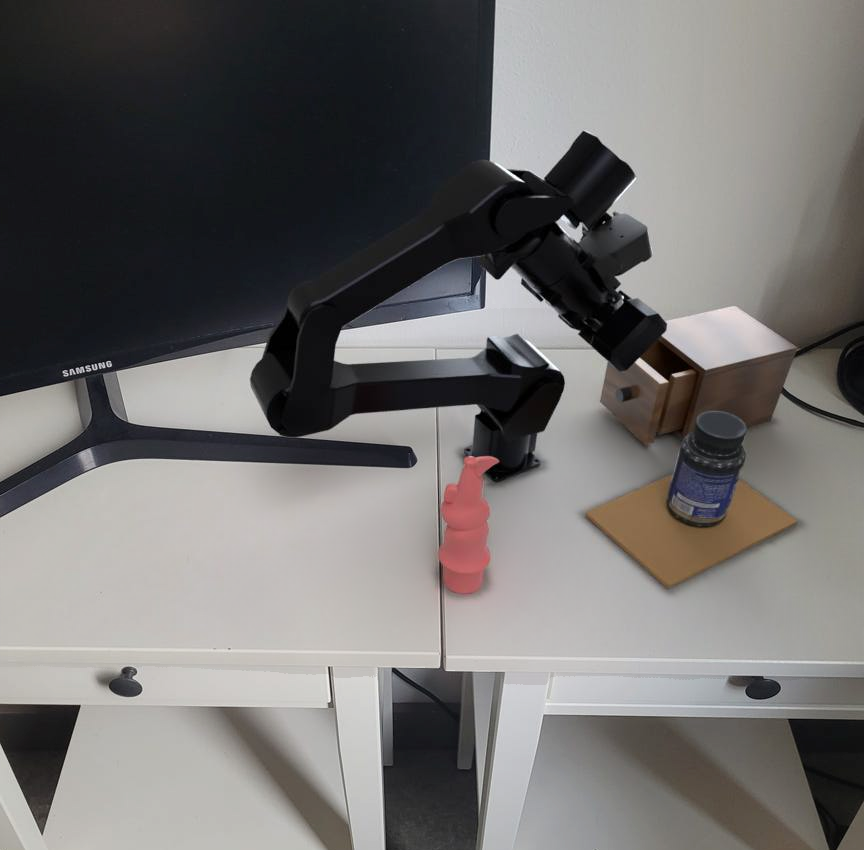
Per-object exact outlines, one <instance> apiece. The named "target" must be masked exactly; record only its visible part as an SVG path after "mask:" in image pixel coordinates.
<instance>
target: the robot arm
mask: <svg viewBox="0 0 864 850" xmlns="http://www.w3.org/2000/svg"><path fill="white" fill-rule="evenodd" d="M635 180H637V176H636V173H635V172H634V170H633V169H632V167H631V166H630V165H629V164H628V163H627V162H626V161H624V160H622V159H621V158H620V157H618V155H616V153H614V152H613V151H612V150H611V149H610V148H609V147H607V146H606V145H605V144H604V143H603V142H602V141H601V140H600V138H599V137H598V136H597V135H595V134H593V133H591V132H589V131H587V130H582V131H581V132H580V134H579V135H577V137H576V138H575V139H574V140H573V142H572V144H571V145H570V147H569V148H568V150H567V151H566V152H565V153H564V154H563V156H562V157H561V158H560V159H559V160H558V161H557V163H555V165H554V166H553V167H552V168H551V169H550V170H549V172H548V173H547V174H546V175H545V176H544V178H542V177H540V176H539V175H538V174H536V173H534V172H533V171H531V170H530V169H524V168H520V169H519V168H513V169H512V168H505V167H503V166H502V165H500V164H499V163H497V162H494V161H491V160H486V159H478V160H475V161H473V162H471V163H470V162H469V163H468V164H467V165H465V166H464V167H463V168H462V169H460V170H459V172H457V173H456V174H455V175H454V176H453V177H451V178H450V179H449V180H448V181H446V183H444V184H443V185H442V186H440V188H439V189H438V190H437V191H436V194H435V195H434V197H433V198H432V200H431V202H430V203H429V204H428V206H427V207H426V209H424V210H423V211H422V212H420V213H419V214H418V215H417V216H416V217H414V218H413V219H411V220H409V221H407V222H406V223H405V224H403V225H401V226H399V227H398V228H396V229H395V230H393V231H391V232H389V233H388V234H386V235H385V236H383V237H381V238H379V239H378V240H376V241H374V242H373V243H372V244H370V245H368V246H366V247H365V248H363V249H362V250H360V251H358V252H357V253H355V254H353V255H352V256H350V257H348V258H347V259H345V260H343V261H342V262H340V263H339V264H337V265H336V266H334V267H332V268H330V269H329V270H327V271H325V272H324V273H322V274H321V275H318V276H317V277H316V278H314V279H312V280H310V281H303V282H301V283H298V284H297V285H296V286H295V287H294V288H292V289H291V291H290V293H289V295H288V298H287V301H286V304H285V308H284V310H283V314H282V315H281V316H280V318H278V320H277V322H276V323H275V325H274V326H273V328H272V330H271V331H270V332H269V335H268V338H267V340H266V344H265V347H264V349H263V354H262V357H261V359H260V360H259V361H257V363H255V365H254V367H253V369H252V370H251V374H250V377H249V382H250V388H251V390H252V392H253V395H254V396H255V398H256V400H257V402H258V404H259V406H260V409H261V410H262V412H263V415H264V417H265V419H266V420H267V422H268V423H267V424H269V426H270V428H271V429H272V430H274V431H275V433H277V434H278V435H279V436H281V437H283V438H289V439H296V438H302V437H306V436H310V435H314V434H315V435H316V434H318V433H319V434H320V433H323V432H327V431H330V430H332V429H334V427H336V426H338V425H340V423H342V422H343V421H344V420H346V419H347V418H349V417H350V416H354V415H360V414H375V413H386V412H387V413H388V412H399V411H412V410H425V409H436V408H438V409H439V408H449V407H462V406H464V407H465V406H475V405H476V406H477V407H478V409H480V412H479V413H478V414H475V415H474V424H473V434H472V435H473V437H472V445H469V446H466V447H464V449H463V454H464V455H465V457H467V456H473V457H475V458H477V457H483V456H491V457H494V458H496V459H498V460H499V463H497V464H495V465H493V466H492V467H490V468H489V469H488V470H486V471H485V472H484V473H483V474H485V475H486V477H487V478H489V479H490V480H491V481H492V482H493V483H500V482H503V481H505V480H507V479H509V478H513V477H515V476H518V475H520V474H522V473H525V472H527V471H530V470H533V469H535V468H539V467H540V466H541V463H542V460H541V459H540V458H539V457H538V456H537V455H536V454H535V453H534V452H535V450H536V445H537V440H538V439H537V437H538V434H539V433H542V432H545V430H546V428H547V426H548V424H549V422H550V420H551V418H552V417H553V414H554V412H555V410H556V408H557V406H558V404H559V403H560V400H561V398H562V396H563V395H562V394H564V391H565V387H566V379H565V376H564V374H563V373H562V371H561V370H560V369H559V368H557V366H555V364H554V363H552V361H550V360H549V358H547V357H546V356H545V355H544V354H543V352H541V351H540V350H538V349H537V347H536V346H535V345H533V344H532V343H531V342H530V341H529V340H527V339H524V338H523V337H522V336H521V335H520V334H519V333H515V334H512V335H509V336H505V337H503V336H502V337H501V336H496V335H495V336H494V335H491V336H488V337H487V338H486V346H485V348H484V349H483V350H481V351H480V352H479V353H478V354H476V355H475V356H472V357H461V358H460V357H459V358H457V357H456V358H441V359H438V358H437V359H424V360H422V359H421V360H406V361H405V360H404V361H403V360H402V361H401V360H400V361H386V362H385V361H384V362H383V361H382V362H367V363H365V362H364V363H343V362H340V361H336V360H335V355H336V346H337V342H338V340H339V336H340V334H341V331H342V328H344V327H345V326H347V325H349V324H350V323H352V322H354V321H356V320H357V319H359V318H360V317H362V316H363V315H365V314H367V313H369V312H370V311H372V310H374V309H375V308H377V307H379V306H380V305H382V304H384V303H385V302H386V301H388V300H390V299H392V298H393V297H395V296H396V295H398V294H400V293H401V292H403V291H404V290H406V289H408V288H409V287H411V286H413V285H415V284H417V282H419V281H421V280H422V279H424V278H426V277H428V276H429V275H431V274H433V273H434V272H436V271H438V270H439V269H440V268H443V267H444V266H446V265H448V264H451V263H453V262H455V261H458V260H462V259H470V258H478V259H479V260H478V265H479V266H480V267H481V268H482V269H483V270H484V271H486V273H488V274H489V275H490V276H491V277H492V278H493V279H494V280H496V281H498V280H501V279H502V277H503V276H504V275H505V274H506V273H507V272H508V271H509V270H510V269H512V270H513V271H515V273H517V275H518V276H519V277H520V278H521V280H520V281H521V282H520V285H521V286H523V287H524V288H525V289H526V290H527V291H528V292H529V293H530V294H531V295H532V296H533V297H534V298H535V299H536V300H537V301H539V303H541V304H542V303H543V302H544V301H545V303H546V304H547V305H548V306H549V307H550V308H551V309H552V310H553V311H554V312H556V313H557V317H558V318H559V319H560V320H561V321H562V322H563V323H565V324H566V325H567V326H568V327H569V328H571V329H573V330H576V331H577V332H578V333H577V335H578V336H579V337H580V338H581V339H582V340H584V341H585V342H586V343H587V344H588V345H589V346H591V348H592V349H593V350H595V352H596V353H597V354H599V355H600V356H601V357H602V358H603V359H604V360H605V361H606V362H607V363H608V362H609V363H610V364H611V365H612V366H613V367H614V368H616V369H617V370H618V371H619V372H621V371H627V370H628V369H629V368H630V367H631V366H632V365H633V364H634V363H635V362H636V361H637V360H638V359H639V358H640V357H641V356H642V355H643V354H644V353H645V352H646V351H647V350H648V349H649V348H650V347H651V346H652V345H653V344H654V343H655V342H656V341H657V340H658V339H659V338H660V337H661V336H662V335H663V334H664V333H665V332H666V330H667V323H666V321H667V320H665V319H664V318H663V317H662V316H661V314H660V313H659V312H658V311H656V310H655V309H653V308H652V307H651V306H649V305H648V304H647V303H645V302H644V301H643V300H642V299H640V298H639V297H635V298H632V297H631V296H629V295H628V294H627V293H625V292H624V291H622V289H620V290H618V291H617V289H619V287H620V286H621V285H622V283H621V282H620V281H619V280H618V278H617V277H619V276H622V275H624V274H626V273H627V272H629V271H630V270H632V269H634V268H635V267H637V266H638V265H640V264H641V263H645V262H647V261H649V260H650V259H651V258H652V257H653V255H654V253H653V247H652V242H651V239H650V238H651V237H650V234H649V228H648V226H647V225H646V224H645V223H643V222H642V221H639V220H638V219H637V218H635V217H633V216H632V215H630V214H629V213H625V212H624V213H623V212H622V213H620V212H618V211H617V210H614V211H613V212H612V215H611V214H609V213H608V211H609V209H610V208H611V207H612V206H613V205H614V204H615V203H616V202H617V201H618V200H619V199H620V198H621V196H623V194H624V193H625V192H626V191H627V190H628V189H629V188H630V187H631V186H632V184H633V183H634V182H635ZM560 220H561V221H563V222H564V223H565V224H567V225H568V226H569V227H570V228H572V229H574V230H577V229H578V227H579V226H580V225H581V234H582V236H581V237H580V239H579V241H578V242H577V240H576V239H574V238H573V237H571V236H570V235H569V234H568V233H567V232H566V231H565V230H564V228H562V227H561V226H560V224H559V223H558V221H560Z"/></svg>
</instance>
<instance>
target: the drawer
mask: <svg viewBox="0 0 864 850" xmlns="http://www.w3.org/2000/svg"><path fill="white" fill-rule="evenodd" d="M698 376H699V372H698V371H697V370H695V369H694V368H693V367H692V366H690V365H689V364H688V363H686V362H685V361H684V360H683V359H681V358H680V357H679V356H678V355H676V354H675V353H674V352H673V351H671V350H670V349H669V348H667V347H666V346H665V345H664V344H662V343H661V342H660V341H659V340H657V341H656V342H655V343H654V344H653V345H652V346H651V347H650V348H649V349H648V350H647V351H646V352H645V353H644V354H643V355H642V356H641V357H640V358H639V359H638V360H637V361H636V362H635V363H634V364H633V365H632V366H631V367H630V368H629V369H628V370H627V371H621V372H619V371H618V370H617V369H616V368H614V367H613V366H612V365H611V364H610V363H609V362H608V361H607V364H606V367H605V374H604V378H603V384H602V388H601V394H600V399H599V403H601V405H602V406H604V407H605V408H606V410H608V412H610V413H611V414H612V416H614V417H615V418H616V419H617V420H618V421H620V422H621V424H623V426H624V427H625V428H627V429H628V430H629V431H630V432H631V433H632V435H634V437H636V438H637V439H638V440H639V441H640V442H641V443H643V445H644V446H647V445H650V444H653V443H654V442H655V439H656V434H657V433H658V434H659V435H664V434H669V433H672V431H676V430H679V429H683V428H684V425H685V422H686V418H687V415H688V411H689V408H690V404H691V401H692V397H693V394H694V390H695V387H696V383H697V380H698Z"/></svg>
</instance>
